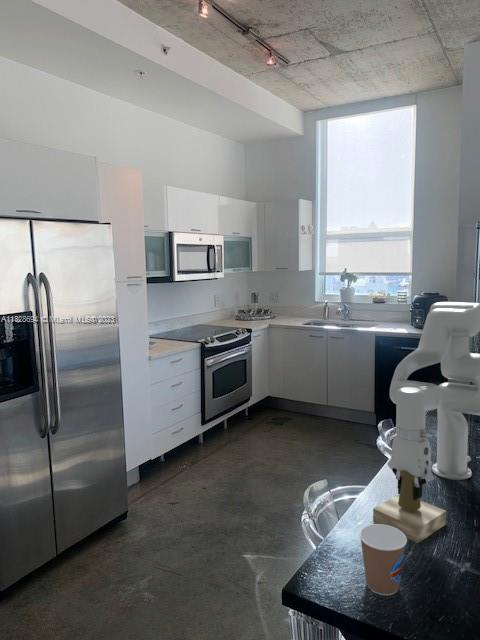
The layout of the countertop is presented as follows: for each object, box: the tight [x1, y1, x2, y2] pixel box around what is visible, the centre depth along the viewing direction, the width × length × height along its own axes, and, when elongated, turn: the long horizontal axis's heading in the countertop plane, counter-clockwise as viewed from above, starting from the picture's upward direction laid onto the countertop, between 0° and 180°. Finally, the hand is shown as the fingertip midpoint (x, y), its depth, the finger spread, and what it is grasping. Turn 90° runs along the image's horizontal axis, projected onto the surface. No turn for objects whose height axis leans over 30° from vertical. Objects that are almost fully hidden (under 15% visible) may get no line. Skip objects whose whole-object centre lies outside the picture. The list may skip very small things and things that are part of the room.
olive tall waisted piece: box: [398, 470, 421, 510], centre depth 134 cm, size 6×6×11 cm
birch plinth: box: [372, 494, 447, 544], centre depth 135 cm, size 14×14×4 cm
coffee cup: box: [358, 523, 408, 596], centre depth 109 cm, size 10×10×12 cm
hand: (409, 495), depth 134 cm, fingers closed on olive tall waisted piece, 4 cm apart
